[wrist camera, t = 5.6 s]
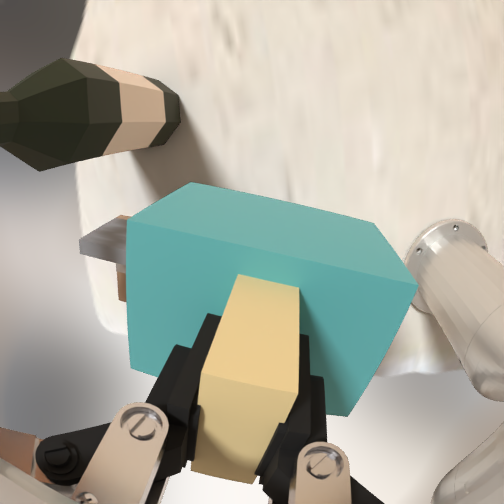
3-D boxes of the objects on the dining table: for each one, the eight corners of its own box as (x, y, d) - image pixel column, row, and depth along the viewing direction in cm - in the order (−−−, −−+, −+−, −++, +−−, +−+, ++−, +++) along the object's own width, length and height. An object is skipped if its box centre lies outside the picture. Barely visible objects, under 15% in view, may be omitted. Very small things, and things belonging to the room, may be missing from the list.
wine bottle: (170, 157, 33) (-94, 267, 6) (111, 141, 33) (-129, 212, 6) (191, 87, 30) (-90, 40, 2) (128, 75, 30) (-122, 62, 2)
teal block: (373, 223, 16) (473, 376, 5) (335, 328, 19) (354, 502, 8) (190, 182, 16) (38, 280, 6) (178, 293, 19) (86, 442, 8)
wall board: (279, 245, 35) (273, 282, 27) (261, 329, 40) (252, 377, 32) (120, 215, 37) (79, 239, 28) (122, 295, 41) (90, 331, 33)
